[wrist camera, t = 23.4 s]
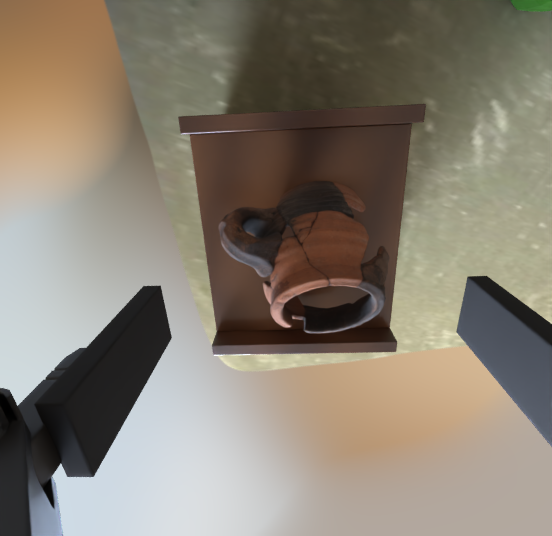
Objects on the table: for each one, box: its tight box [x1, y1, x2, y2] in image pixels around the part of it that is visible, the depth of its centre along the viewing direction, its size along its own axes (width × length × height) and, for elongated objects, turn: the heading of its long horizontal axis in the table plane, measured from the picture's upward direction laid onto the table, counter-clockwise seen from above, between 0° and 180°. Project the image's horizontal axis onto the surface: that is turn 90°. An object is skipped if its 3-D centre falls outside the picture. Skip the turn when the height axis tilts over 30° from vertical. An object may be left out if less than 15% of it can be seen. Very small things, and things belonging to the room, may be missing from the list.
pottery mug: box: [219, 181, 389, 333], centre depth 22 cm, size 12×10×8 cm
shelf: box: [178, 104, 426, 355], centre depth 30 cm, size 15×18×15 cm
